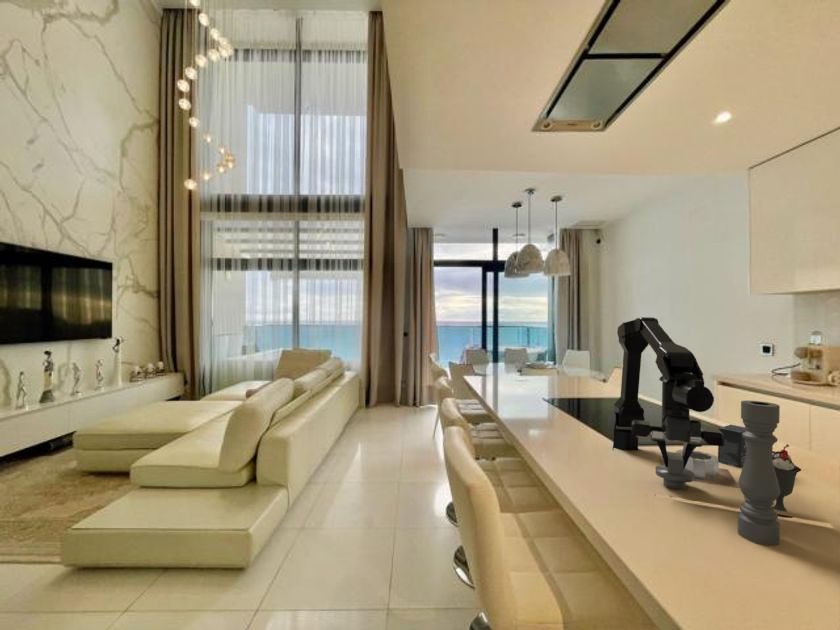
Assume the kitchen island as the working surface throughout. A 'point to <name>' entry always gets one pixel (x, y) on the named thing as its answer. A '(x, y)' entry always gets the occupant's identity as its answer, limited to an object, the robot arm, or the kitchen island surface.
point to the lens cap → (674, 472)
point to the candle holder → (759, 474)
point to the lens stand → (723, 478)
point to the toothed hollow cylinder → (702, 465)
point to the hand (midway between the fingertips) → (674, 468)
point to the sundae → (784, 477)
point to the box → (732, 446)
